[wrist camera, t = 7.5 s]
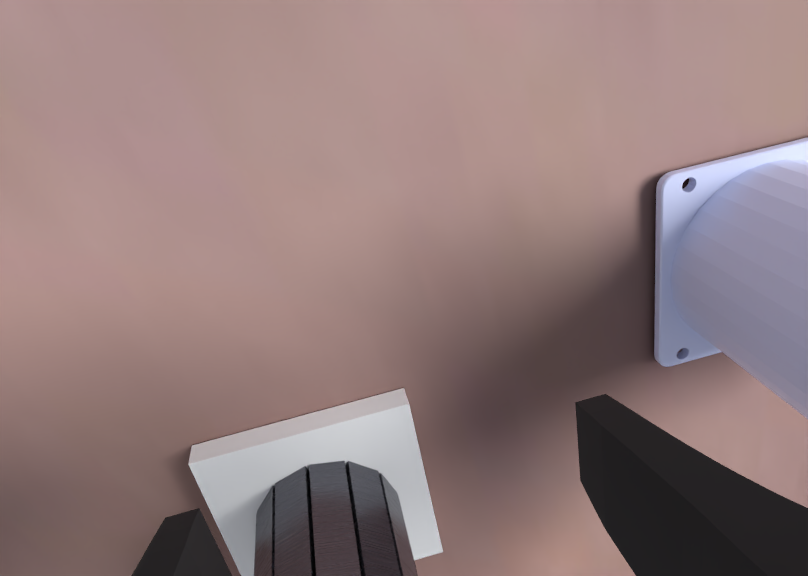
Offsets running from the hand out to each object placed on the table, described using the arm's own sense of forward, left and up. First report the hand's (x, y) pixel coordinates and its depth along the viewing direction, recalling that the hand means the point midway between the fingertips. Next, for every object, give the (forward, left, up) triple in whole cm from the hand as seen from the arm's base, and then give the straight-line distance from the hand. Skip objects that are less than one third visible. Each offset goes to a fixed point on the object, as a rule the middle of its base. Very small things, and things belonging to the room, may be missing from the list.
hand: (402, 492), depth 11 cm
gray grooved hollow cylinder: (+3, +9, -9) cm, 13 cm away
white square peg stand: (+3, +9, -10) cm, 14 cm away
